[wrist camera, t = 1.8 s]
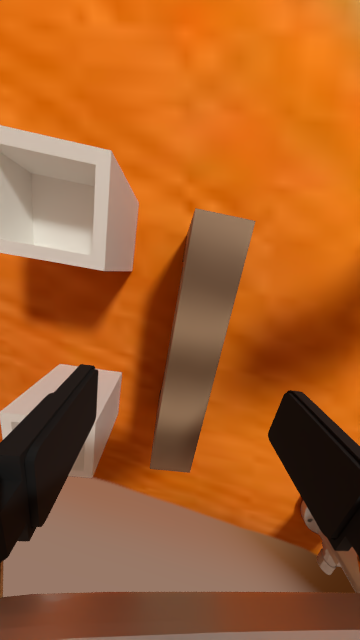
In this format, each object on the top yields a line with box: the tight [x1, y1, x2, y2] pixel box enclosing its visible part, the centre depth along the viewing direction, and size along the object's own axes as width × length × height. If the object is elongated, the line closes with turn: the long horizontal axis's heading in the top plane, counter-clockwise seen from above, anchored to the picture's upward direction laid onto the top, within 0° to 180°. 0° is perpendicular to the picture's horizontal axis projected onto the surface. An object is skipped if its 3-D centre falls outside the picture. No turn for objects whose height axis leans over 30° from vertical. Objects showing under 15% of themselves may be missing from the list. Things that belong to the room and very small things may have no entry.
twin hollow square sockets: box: [0, 125, 139, 478], centre depth 15 cm, size 24×7×7 cm, turn 170°
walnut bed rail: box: [150, 209, 255, 473], centre depth 16 cm, size 20×4×7 cm, turn 170°
